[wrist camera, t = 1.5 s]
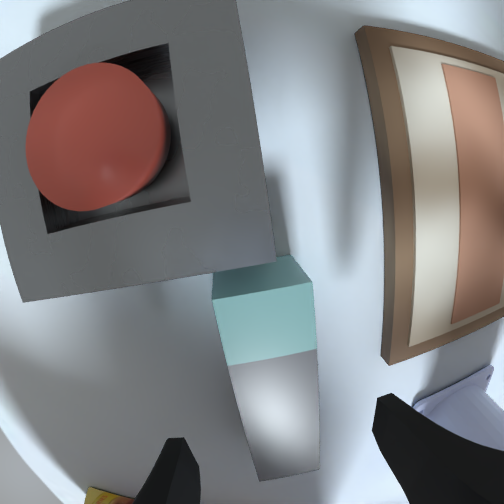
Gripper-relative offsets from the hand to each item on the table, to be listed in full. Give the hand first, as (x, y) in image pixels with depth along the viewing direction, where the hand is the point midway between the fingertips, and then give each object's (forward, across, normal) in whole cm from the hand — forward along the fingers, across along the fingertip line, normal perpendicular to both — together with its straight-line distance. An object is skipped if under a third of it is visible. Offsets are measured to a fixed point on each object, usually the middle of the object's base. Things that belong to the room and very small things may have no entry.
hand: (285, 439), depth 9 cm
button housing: (+5, +4, -11) cm, 12 cm away
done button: (+2, +4, -11) cm, 12 cm away
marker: (+5, 0, 0) cm, 5 cm away
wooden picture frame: (+5, -12, -7) cm, 15 cm away
